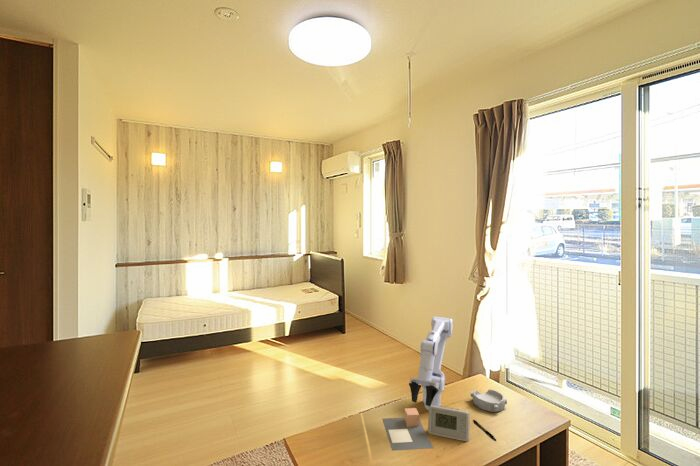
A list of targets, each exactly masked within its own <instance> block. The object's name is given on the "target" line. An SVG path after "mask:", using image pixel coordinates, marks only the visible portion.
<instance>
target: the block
mask: <svg viewBox="0 0 700 466" xmlns="http://www.w3.org/2000/svg"><path fill="white" fill-rule="evenodd" d="M419 413H420V412H419V411H418V410H417V408H416V407H409V408H408V407H407V408H405V407H404V417H403V418H404V420H405V422H406V424H407V427H414V426H419V420H420V414H419Z"/></svg>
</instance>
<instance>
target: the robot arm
mask: <svg viewBox="0 0 700 466" xmlns="http://www.w3.org/2000/svg"><path fill="white" fill-rule="evenodd" d="M430 323H431V330H430V331H429V332H428V334H427V335H426V337H425V339H424V340H422V341H421V343H420V352H419V353H420V354H419V355H420V356H419V357H420V361H419V366H418V367H419V368H418V372H417V377H410V378H409V382H408V386H409V388H410V394H411V402H412V403H417V402H418V397H419V393H420V390H421V388H422V403H423V405H424V408H425V410H426V411H429V406H431V405H435V406H441V401H442V392H443V391H444V389H445V385H446V376H445V374H444V372H443V371H442V370H441V367H442V364H443V358H444V353H445V349H446V348H445V347H446V342H447V341H448V339H449V338H451V336H452V332H453V329H454V320H453V318H447V317H442V316H435V315H434V316H432V317H431V322H430Z"/></svg>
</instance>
